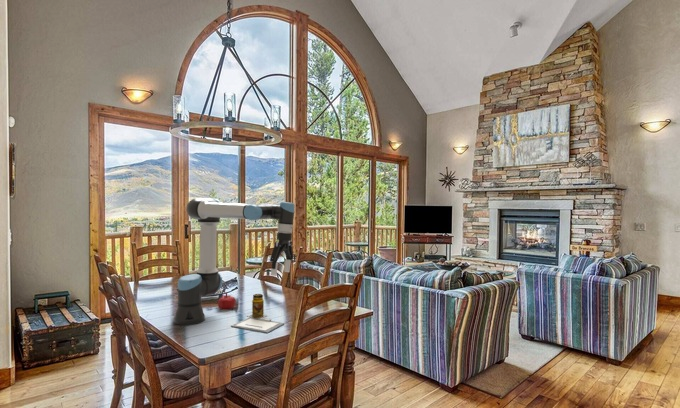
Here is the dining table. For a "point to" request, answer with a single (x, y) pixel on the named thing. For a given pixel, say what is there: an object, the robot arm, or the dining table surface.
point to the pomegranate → (226, 302)
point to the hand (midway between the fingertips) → (280, 273)
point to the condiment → (257, 306)
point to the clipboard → (258, 325)
